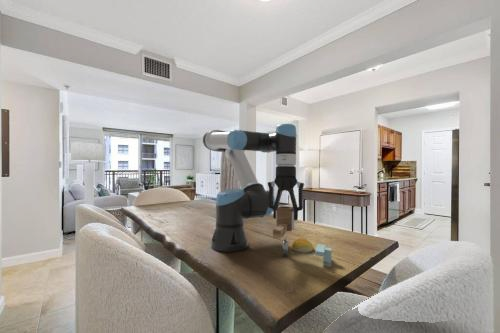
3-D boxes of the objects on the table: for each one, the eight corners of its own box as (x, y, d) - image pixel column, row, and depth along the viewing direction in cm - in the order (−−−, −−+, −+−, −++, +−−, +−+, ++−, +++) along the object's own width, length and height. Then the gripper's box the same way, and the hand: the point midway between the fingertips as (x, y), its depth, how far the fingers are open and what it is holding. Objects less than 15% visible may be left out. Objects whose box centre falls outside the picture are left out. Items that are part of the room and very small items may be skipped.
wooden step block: (284, 239, 71) (284, 213, 71) (268, 237, 73) (269, 212, 73) (293, 227, 85) (293, 206, 85) (280, 226, 87) (280, 205, 87)
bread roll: (291, 252, 88) (291, 242, 88) (292, 245, 97) (292, 235, 97) (313, 254, 86) (313, 244, 86) (312, 246, 95) (312, 237, 95)
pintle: (281, 256, 83) (281, 238, 83) (282, 254, 85) (283, 237, 85) (287, 257, 82) (287, 239, 82) (288, 255, 84) (288, 238, 84)
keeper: (315, 265, 76) (315, 251, 76) (317, 256, 83) (317, 244, 83) (331, 267, 74) (331, 253, 74) (331, 258, 81) (331, 245, 82)
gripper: (259, 165, 84) (259, 228, 84) (309, 165, 77) (309, 233, 77) (265, 166, 91) (265, 223, 91) (312, 166, 84) (311, 228, 84)
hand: (285, 228), depth 84 cm, fingers closed on wooden step block, 5 cm apart
